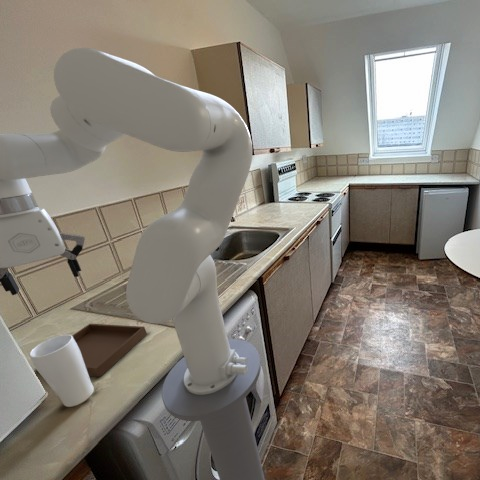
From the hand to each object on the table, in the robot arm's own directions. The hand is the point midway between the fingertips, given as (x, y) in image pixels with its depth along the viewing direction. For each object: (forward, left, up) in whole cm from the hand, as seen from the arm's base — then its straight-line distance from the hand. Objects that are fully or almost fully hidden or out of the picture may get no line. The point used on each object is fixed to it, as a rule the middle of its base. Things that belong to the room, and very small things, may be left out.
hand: (47, 283), depth 57 cm
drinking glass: (-4, +7, -26) cm, 27 cm away
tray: (+6, -6, -26) cm, 27 cm away
